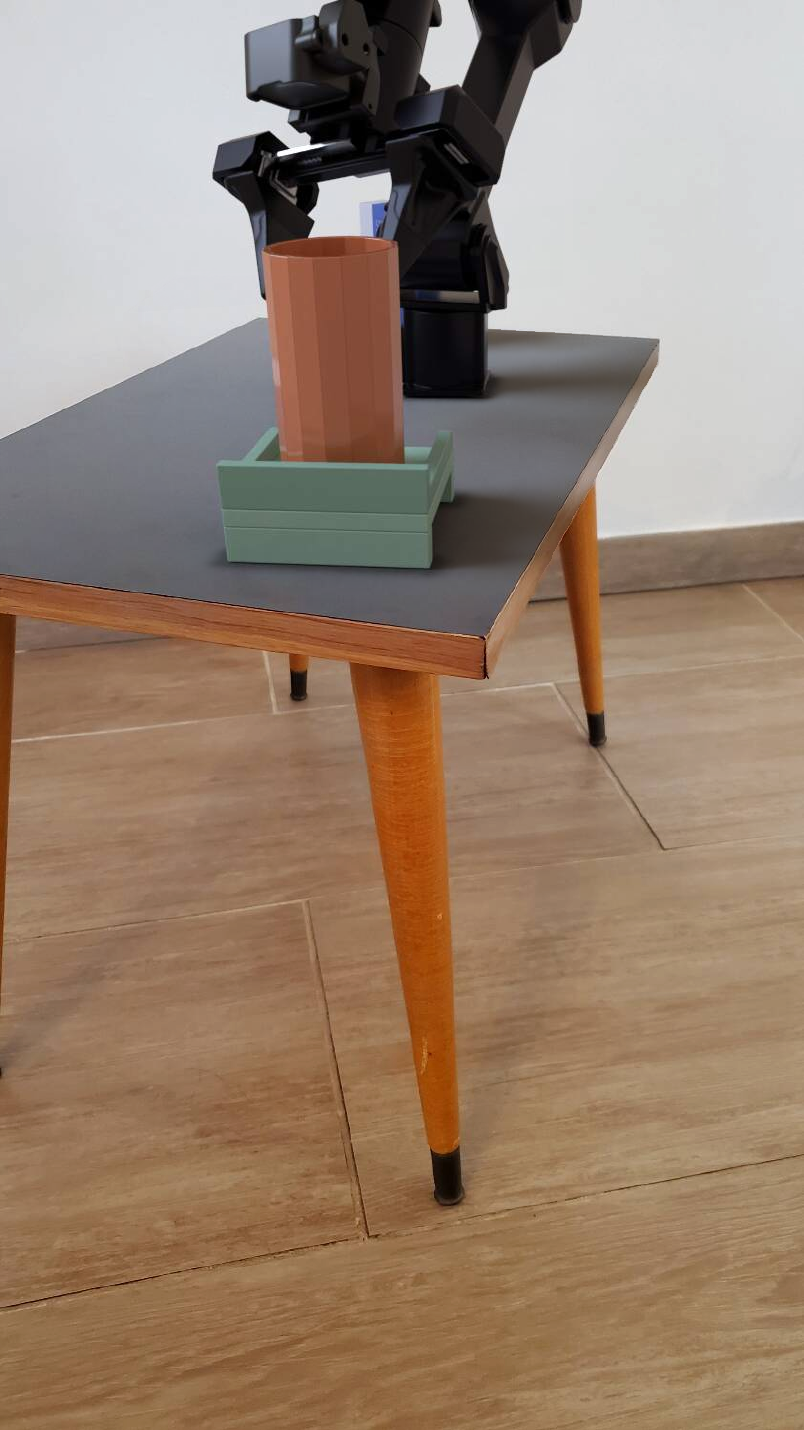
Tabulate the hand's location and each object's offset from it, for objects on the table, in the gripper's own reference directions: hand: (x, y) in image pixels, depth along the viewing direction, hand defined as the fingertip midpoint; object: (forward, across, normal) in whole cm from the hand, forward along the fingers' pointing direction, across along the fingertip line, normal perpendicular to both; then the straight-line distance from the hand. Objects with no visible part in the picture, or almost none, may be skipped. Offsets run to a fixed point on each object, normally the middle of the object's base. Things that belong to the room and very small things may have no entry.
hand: (323, 294), depth 67 cm
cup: (+12, +6, -1) cm, 13 cm away
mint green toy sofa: (+14, +5, +1) cm, 15 cm away
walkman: (-11, -18, +30) cm, 37 cm away
